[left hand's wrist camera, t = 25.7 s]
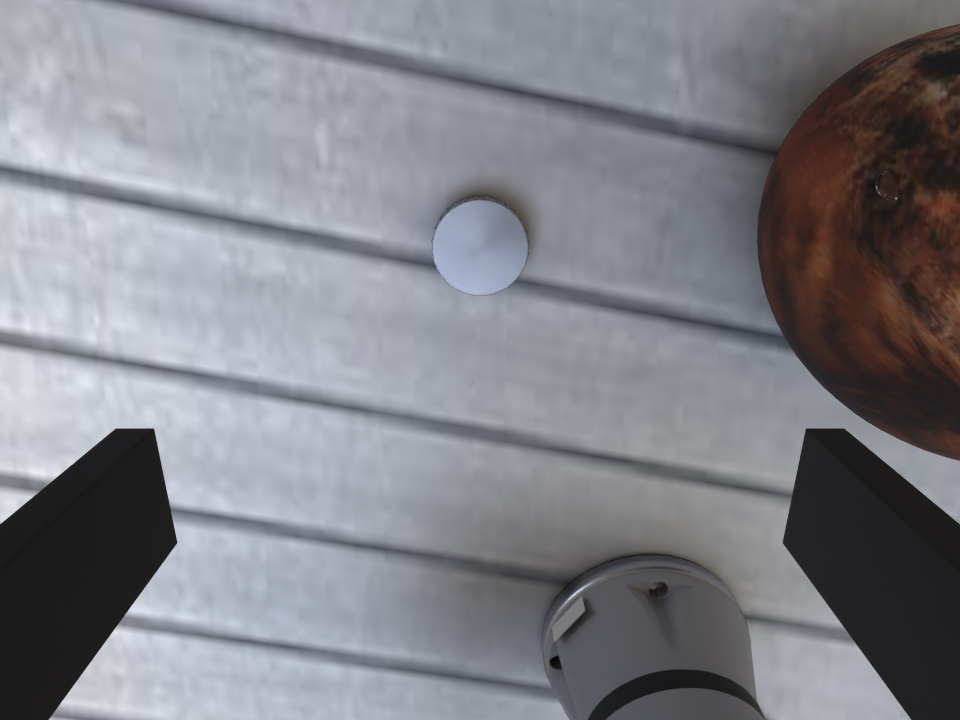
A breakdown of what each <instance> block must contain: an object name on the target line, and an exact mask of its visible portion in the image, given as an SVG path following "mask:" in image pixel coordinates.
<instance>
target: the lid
mask: <svg viewBox="0 0 960 720" xmlns="http://www.w3.org/2000/svg"><path fill="white" fill-rule="evenodd" d="M522 224H523V221H522V219H519V217H518V216H517V213H516V211H515V210H514V211H513V210H512V209H511V208H510V207H509V206H508V204H507V203H506V204H504V203H503V202H501V201H499V200H498V199H497V198H496V199H493V198H489V197H488V196H486V197H477V195H475V197H471V198H464V200H462V201H460V202H458V203H457V202H455V203H454V205H453V206H452V207H451V208H449V209H448V208H447V209H446V212H445V214H444V215H443V216H442V217H440V219H439V223H438V225H437V226H436V227H435V229H434V231H435V233H434V237H433V238H432V242H433V243H432V253H433V259H434V263H435V265H436V267H437V270H438V272H439V273H440V275H441V276H442V277H443V279H444V280H445V281H446V282H447V283H448V284H449V285H451V286H452V287H453V288H455V289H457V290H459V291H461V292H463V293H466V294H470V295H476V296H485V295H491V294H494V293H497V292H500V291H502V290H504V289H505V288H507V287H508V286H510V285H511V284H512V283H513V282H514V281H515V280H516V279H517V278H518V277H519V275H520V274H521V272H522V270H523V268H524V266H525V265H526V260H527V256H528V254H529V253H528V244H529V242H528V239H527V235H526V234H527V231H526V229H524V227H523V225H522Z"/></svg>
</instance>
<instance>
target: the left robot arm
mask: <svg viewBox="0 0 960 720" xmlns="http://www.w3.org/2000/svg"><path fill="white" fill-rule="evenodd" d="M176 544H177V539H176V534H175V529H174V524H173V520H172V515H171V510H170V505H169V500H168V495H167V490H166V485H165V480H164V475H163V471H162V466H161V461H160V456H159V451H158V446H157V441H156V436H155V431H154V429H115V430H114V431H112V432H111V433H110V434H109V435H108V436H106V437H105V438H104V439H103V440H102V441H100V442H99V443H98V444H97V445H96V446H94V447H93V448H92V449H91V450H90V451H88V452H87V453H86V454H85V455H83V456H82V457H81V458H80V459H79V460H77V461H76V462H75V463H74V464H73V465H71V466H70V467H69V468H68V469H67V470H65V471H64V472H63V473H62V474H61V475H59V476H58V477H57V478H56V479H55V480H53V481H52V482H51V483H50V484H48V485H47V486H46V487H45V488H44V489H42V490H41V491H40V492H39V493H38V494H36V495H35V496H34V497H33V498H32V499H30V500H29V501H28V502H27V503H26V504H24V505H23V506H22V507H21V508H20V509H18V510H17V511H16V512H15V513H13V514H12V515H11V516H10V517H9V518H7V519H6V520H5V521H4V522H3V523H1V524H0V720H49V718H50V717H51V716H52V714H53V713H54V711H55V710H56V709H57V707H58V706H59V705H60V703H61V702H62V700H63V699H64V698H65V696H66V695H67V694H68V692H69V691H70V690H71V688H72V687H73V685H74V684H75V683H76V681H77V680H78V679H79V677H80V676H81V674H82V673H83V672H84V670H85V669H86V668H87V666H88V665H89V663H90V662H91V661H92V659H93V658H94V657H95V655H96V654H97V652H98V651H99V650H100V648H101V647H102V646H103V644H104V643H105V641H106V640H107V639H108V637H109V636H110V635H111V633H112V632H113V630H114V629H115V628H116V626H117V625H118V624H119V622H120V621H121V619H122V618H123V617H124V615H125V614H126V613H127V611H128V610H129V608H130V607H131V606H132V604H133V603H134V602H135V600H136V599H137V597H138V596H139V595H140V593H141V592H142V591H143V589H144V588H145V586H146V585H147V584H148V582H149V581H150V580H151V578H152V577H153V575H154V574H155V573H156V571H157V570H158V569H159V567H160V566H161V564H162V563H163V562H164V560H165V559H166V558H167V556H168V555H169V554H170V552H171V551H172V549H173V548H174V547H175V545H176ZM783 544H784V545H785V547H786V548H787V549H788V551H789V552H790V554H791V555H792V556H793V558H794V559H795V560H796V562H797V563H798V564H799V566H800V567H801V569H802V570H803V571H804V573H805V574H806V575H807V577H808V578H809V580H810V581H811V582H812V584H813V585H814V586H815V588H816V589H817V591H818V592H819V593H820V595H821V596H822V597H823V599H824V600H825V602H826V603H827V604H828V606H829V607H830V608H831V610H832V611H833V613H834V614H835V615H836V617H837V618H838V619H839V621H840V622H841V624H842V625H843V626H844V628H845V629H846V630H847V632H848V633H849V635H850V636H851V637H852V639H853V640H854V641H855V643H856V644H857V646H858V647H859V648H860V650H861V651H862V652H863V654H864V655H865V657H866V658H867V659H868V661H869V662H870V663H871V665H872V666H873V668H874V669H875V670H876V672H877V673H878V674H879V676H880V677H881V679H882V680H883V681H884V683H885V684H886V685H887V687H888V688H889V690H890V691H891V692H892V694H893V695H894V696H895V698H896V699H897V701H898V702H899V703H900V705H901V706H902V707H903V709H904V710H905V711H906V713H907V714H908V716H909V717H910V718H911V720H960V524H959V523H957V522H956V521H955V520H954V519H953V518H951V517H950V516H949V515H948V514H947V513H945V512H944V511H943V510H942V509H940V508H939V507H938V506H937V505H936V504H934V503H933V502H932V501H931V500H930V499H928V498H927V497H926V496H925V495H924V494H922V493H921V492H920V491H919V490H918V489H916V488H915V487H914V486H913V485H912V484H910V483H909V482H908V481H907V480H905V479H904V478H903V477H902V476H901V475H899V474H898V473H897V472H896V471H895V470H893V469H892V468H891V467H890V466H889V465H887V464H886V463H885V462H884V461H883V460H881V459H880V458H879V457H878V456H877V455H875V454H874V453H873V452H872V451H870V450H869V449H868V448H867V447H866V446H864V445H863V444H862V443H861V442H860V441H858V440H857V439H856V438H855V437H854V436H852V435H851V434H850V433H849V432H848V431H846V430H845V429H806V431H805V436H804V441H803V446H802V451H801V456H800V461H799V466H798V471H797V475H796V480H795V485H794V490H793V495H792V500H791V505H790V510H789V515H788V520H787V524H786V529H785V534H784V539H783ZM542 648H543V657H544V664H545V670H546V674H547V677H548V679H549V682H550V684H551V686H552V688H553V690H554V692H555V694H556V696H557V698H558V700H559V701H560V703H561V705H562V707H563V709H564V711H565V713H566V714H567V716H568V718H569V720H765V718H764V716H763V714H762V712H761V710H760V707H759V705H758V703H757V699H756V690H755V680H754V670H753V661H752V652H751V642H750V636H749V630H748V626H747V622H746V620H745V617H744V615H743V613H742V611H741V610H740V608H739V606H738V604H737V602H736V600H735V599H734V597H733V595H732V593H731V592H730V590H729V589H728V588H727V586H726V585H725V584H724V583H723V582H722V581H721V580H720V579H719V578H717V577H716V576H715V575H714V574H712V573H711V572H709V571H708V570H706V569H704V568H703V567H701V566H699V565H696V564H694V563H692V562H689V561H686V560H683V559H679V558H674V557H668V556H659V555H641V556H632V557H626V558H621V559H618V560H614V561H610V562H608V563H605V564H602V565H600V566H598V567H596V568H593V569H591V570H590V571H588V572H586V573H584V574H583V575H581V576H580V577H578V578H577V579H576V580H574V581H573V582H572V583H571V584H569V585H568V586H567V587H566V588H565V589H564V590H563V591H562V592H561V594H560V595H559V596H558V597H557V598H556V600H555V601H554V603H553V604H552V606H551V608H550V610H549V612H548V614H547V616H546V619H545V622H544V626H543V632H542Z"/></svg>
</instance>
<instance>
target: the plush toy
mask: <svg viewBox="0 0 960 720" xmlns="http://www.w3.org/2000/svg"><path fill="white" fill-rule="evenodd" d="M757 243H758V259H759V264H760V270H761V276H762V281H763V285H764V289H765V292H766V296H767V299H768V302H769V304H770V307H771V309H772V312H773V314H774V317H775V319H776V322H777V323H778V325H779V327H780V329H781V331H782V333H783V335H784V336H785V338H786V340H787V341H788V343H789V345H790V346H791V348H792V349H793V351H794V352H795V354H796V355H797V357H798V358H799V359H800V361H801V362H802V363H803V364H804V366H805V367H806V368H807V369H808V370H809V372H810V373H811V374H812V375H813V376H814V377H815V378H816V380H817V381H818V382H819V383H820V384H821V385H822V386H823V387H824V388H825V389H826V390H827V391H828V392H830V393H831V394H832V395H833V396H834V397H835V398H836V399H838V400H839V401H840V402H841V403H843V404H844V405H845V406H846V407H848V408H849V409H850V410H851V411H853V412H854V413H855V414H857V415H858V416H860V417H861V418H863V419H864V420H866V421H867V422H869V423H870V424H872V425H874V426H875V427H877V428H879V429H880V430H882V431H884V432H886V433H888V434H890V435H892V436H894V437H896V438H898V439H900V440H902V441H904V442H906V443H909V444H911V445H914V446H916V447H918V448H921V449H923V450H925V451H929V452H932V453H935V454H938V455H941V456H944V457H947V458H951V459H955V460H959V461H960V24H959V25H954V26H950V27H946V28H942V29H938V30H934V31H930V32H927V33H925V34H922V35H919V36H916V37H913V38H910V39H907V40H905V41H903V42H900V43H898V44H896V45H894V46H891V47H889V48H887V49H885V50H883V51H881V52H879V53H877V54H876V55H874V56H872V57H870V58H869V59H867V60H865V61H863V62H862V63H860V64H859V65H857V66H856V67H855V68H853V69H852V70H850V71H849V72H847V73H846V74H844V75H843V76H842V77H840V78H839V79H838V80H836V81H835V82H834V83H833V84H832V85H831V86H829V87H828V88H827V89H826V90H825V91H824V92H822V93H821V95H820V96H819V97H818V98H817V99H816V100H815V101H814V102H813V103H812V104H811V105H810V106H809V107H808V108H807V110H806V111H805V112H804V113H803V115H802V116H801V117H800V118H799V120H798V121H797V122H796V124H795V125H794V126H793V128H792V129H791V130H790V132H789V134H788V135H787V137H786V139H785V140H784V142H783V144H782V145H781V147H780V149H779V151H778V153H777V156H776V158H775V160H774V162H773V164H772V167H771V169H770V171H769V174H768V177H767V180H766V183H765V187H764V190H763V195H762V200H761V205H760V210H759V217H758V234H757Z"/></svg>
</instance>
